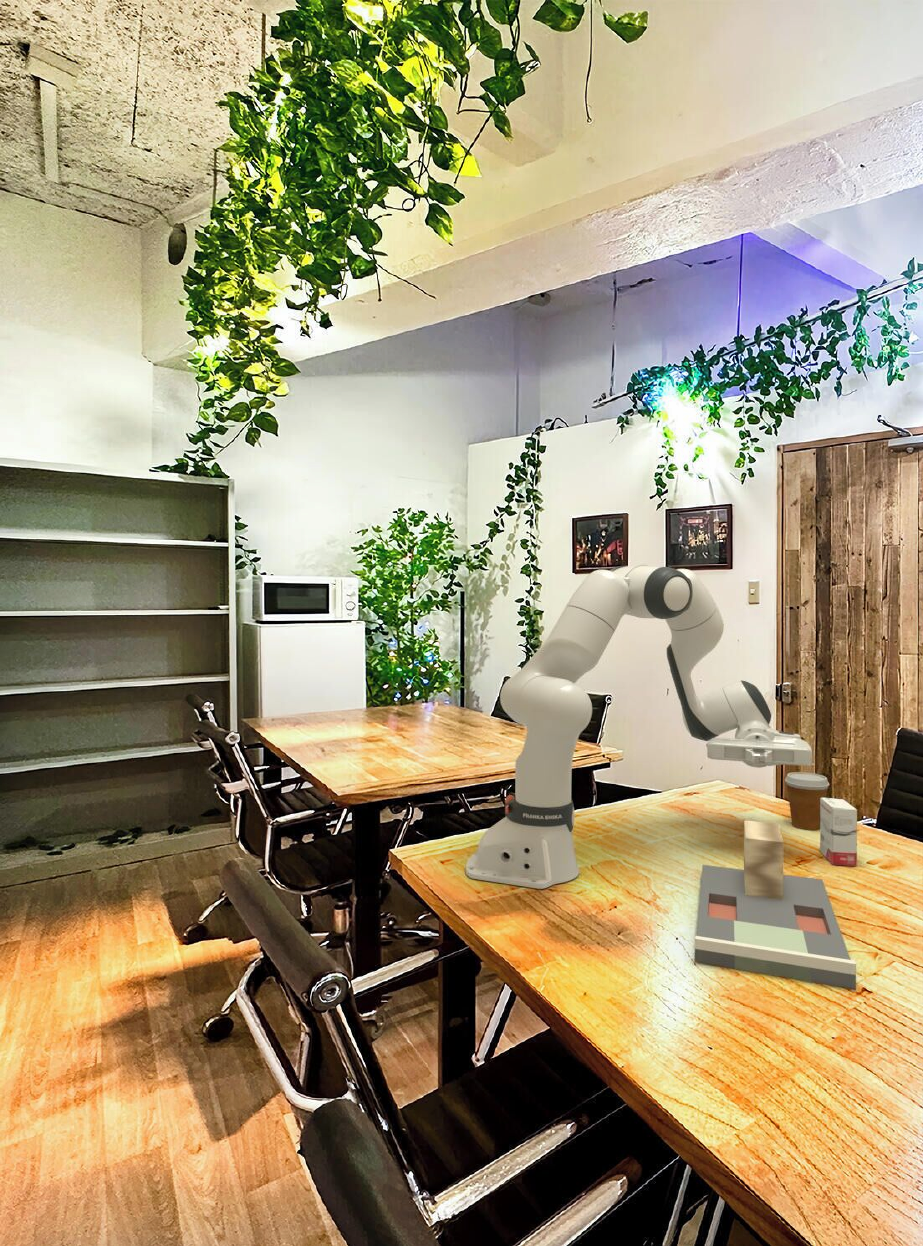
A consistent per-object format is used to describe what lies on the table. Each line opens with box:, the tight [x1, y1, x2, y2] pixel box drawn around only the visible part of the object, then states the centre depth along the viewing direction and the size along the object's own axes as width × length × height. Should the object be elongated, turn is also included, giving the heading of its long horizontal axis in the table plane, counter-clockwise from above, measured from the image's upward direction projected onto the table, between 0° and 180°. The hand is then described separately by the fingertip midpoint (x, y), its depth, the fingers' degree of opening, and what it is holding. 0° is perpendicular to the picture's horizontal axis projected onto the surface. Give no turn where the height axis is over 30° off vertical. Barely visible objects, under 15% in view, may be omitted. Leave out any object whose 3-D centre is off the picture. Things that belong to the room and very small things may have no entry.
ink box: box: [819, 797, 858, 867], centre depth 146 cm, size 9×5×12 cm, turn 168°
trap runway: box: [694, 864, 857, 990], centre depth 116 cm, size 21×36×4 cm, turn 159°
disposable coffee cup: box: [784, 771, 830, 831], centre depth 167 cm, size 10×10×12 cm
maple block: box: [743, 820, 784, 900], centre depth 127 cm, size 6×11×10 cm, turn 159°
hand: (759, 759), depth 140 cm, fingers closed
